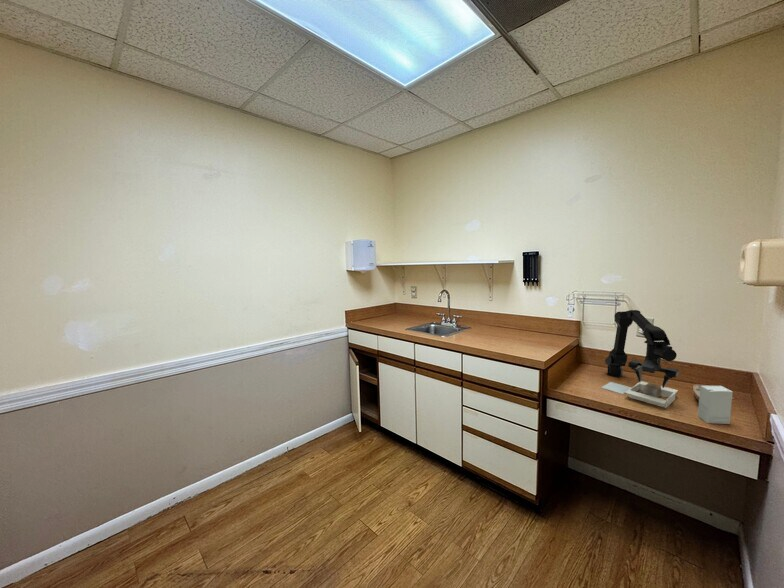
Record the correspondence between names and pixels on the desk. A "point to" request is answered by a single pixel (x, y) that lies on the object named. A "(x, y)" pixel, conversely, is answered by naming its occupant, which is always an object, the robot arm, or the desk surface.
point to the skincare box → (715, 404)
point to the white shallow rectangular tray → (650, 399)
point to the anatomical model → (697, 390)
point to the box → (652, 390)
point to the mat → (616, 387)
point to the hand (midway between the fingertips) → (651, 384)
